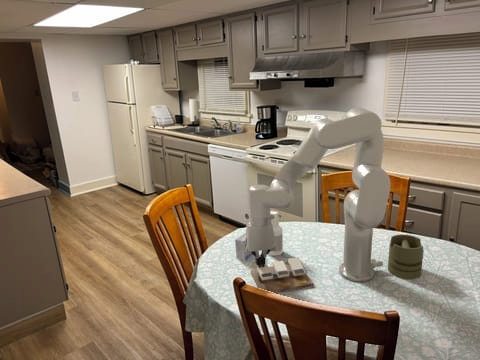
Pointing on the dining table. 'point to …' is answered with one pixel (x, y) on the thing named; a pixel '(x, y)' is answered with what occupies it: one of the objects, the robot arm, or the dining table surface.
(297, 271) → the rocker
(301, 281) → the switch board
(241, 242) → the medicine box
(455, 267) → the dining table surface
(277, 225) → the spray bottle
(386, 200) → the robot arm
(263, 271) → the block
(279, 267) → the rocker middle
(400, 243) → the piston
